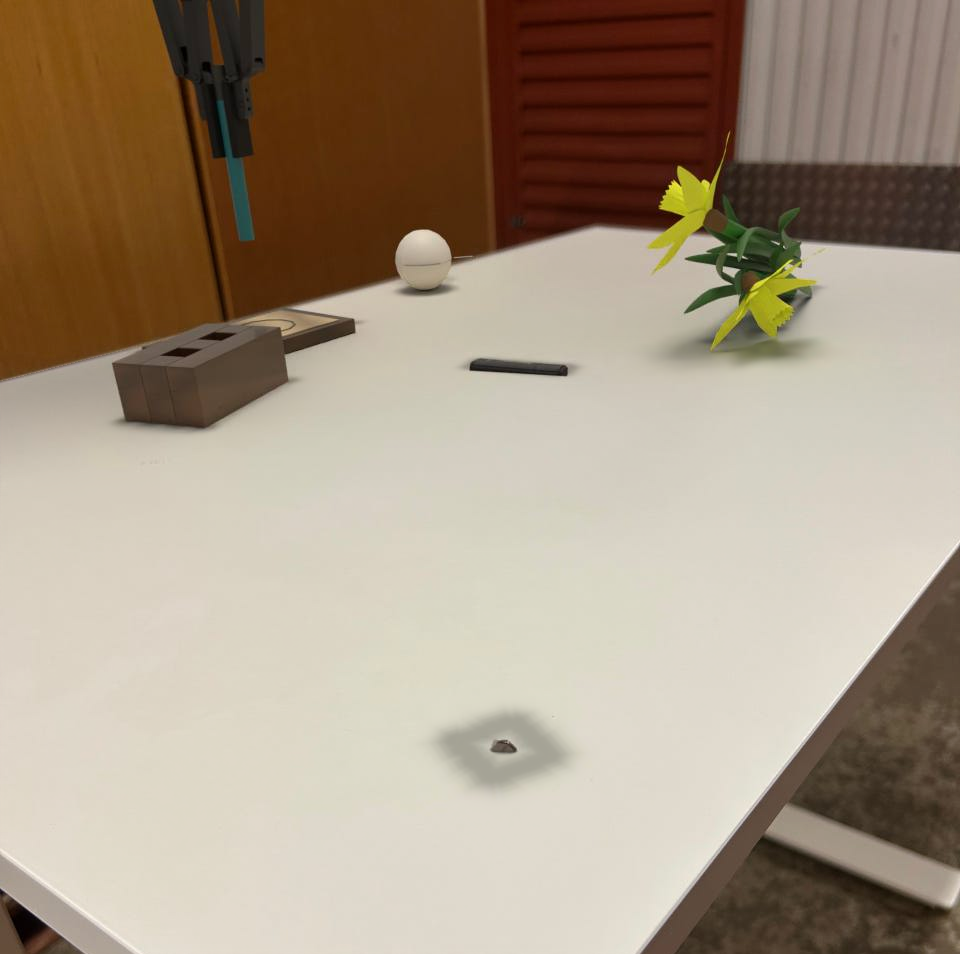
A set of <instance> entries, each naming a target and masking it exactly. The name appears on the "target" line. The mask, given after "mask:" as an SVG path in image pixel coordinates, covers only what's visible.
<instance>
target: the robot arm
mask: <svg viewBox="0 0 960 954" xmlns="http://www.w3.org/2000/svg"><path fill="white" fill-rule="evenodd" d="M179 1H180V2H179ZM208 2H209V4H210V8H211V12H212V17H213V21H214V26H215V30H216V35H217V39H218V44H219V48H220V53H221V57H222V63H223V65H224V67H225V71H226V76H222V77H223V79H224V81H225V82H228V83H224V84H221V89H222V95H223V101H224V107H225V114H226V120H227V126H228V132H229V138H230V144H231V150H232V157H233V158H242V159H243V158H245V157H246V158H247V157H250V156H254V155H255V153H254V147H253V141H252V134H251V127H250V122H249V119H253V118H254V106H253V99H252V93H251V84H250V83H251V79H252V78H253V77H254V76H256V75H258V74H260V73H263V72H265V70H266V38H265V37H266V33H265V31H266V29H265V26H266V25H265V0H238V6H237V2H236V0H152V5H153V8H154V10H155V14H156V17H157V21H158V24H159V27H160V30H161V34H162V37H163V40H164V44H165V47H166V50H167V54H168V57H169V60H170V65H171V67H172V71H173V74H174V76H176V77H177V78H183V79H186V80H188V81H190V82H191V83H192V84H193V86H194V91H195V96H196V102H197V107H198V115H199V117H200V119H201V121H202V122H203V121H204V122H206V124H207V131H208V138H209V143H210V149H211V154H212V159H213V160H214V159H224V158H226V157H225V151H224V145H223V139H222V133H221V127H220V121H219V115H218V109H217V103H216V100H215V94H214V88H213V82H212V76H211V70H210V65H214V57H213V55H214V54H213V48H212V46H213V45H212V37H211V29H210V28H211V27H210V18H209V17H210V16H209V9H208Z"/></svg>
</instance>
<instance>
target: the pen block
mask: <svg viewBox="0 0 960 954" xmlns="http://www.w3.org/2000/svg"><path fill="white" fill-rule="evenodd" d="M164 340H165V341H164ZM164 340H162V341H163V342H160V341H159V342H160V343H158V344H155V345H153V346H151V347H148V348H146V349H143V350H142V349H141V350H139V351H136V352H133V353H132V354H129V355H127V356H124V357H123V358H120V359H117V360H115V361H112V362H111V366H112V371H113V375H114V379H115V384H116V387H117V391H118V395H119V396H118V397H119V400H120V405H121V408H122V412H123V413H122V414H123V416H124V420H125V421H124V422H131V423H140V424H141V423H142V424H154V425H164V426H165V425H166V426H175V427H177V426H178V427H186V428H187V427H189V428H199V429H206V428H208V427H210V426H212V425H214V424H215V423H217V422H219V421H221V420H222V419H224V418H226V417H228V416H230V415H231V414H234V413H235V412H237V411H239V410H240V409H242V408H244V407H245V406H248V405H250V404H251V403H253V402H255V401H256V400H258V399H260V398H261V397H264V396H265V395H267V394H269V393H270V392H272V391H274V390H276V389H277V388H280V387H281V386H283V385H285V384H286V383H288V382H289V381H290V380H289V373H288V368H287V367H288V366H287V360H286V354H285V353H284V346H283V340H282V333H281V327H272V326H249V325H230V324H226V323H209V322H208V323H206V322H205V323H203V324H201V325H198V326H196V327H194V328H192V329H189V330H187V331H184V332H182V333H179V334H177V335H174V336H173V337H169V338H167V339H164Z"/></svg>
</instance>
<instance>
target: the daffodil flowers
mask: <svg viewBox="0 0 960 954" xmlns="http://www.w3.org/2000/svg"><path fill="white" fill-rule="evenodd" d="M730 133H731V131H729V132H728V134H727V137H726V143H725V146H727V144H728V140H729V137H730ZM726 151H727V148H725V149H724V153H723V157H722V159H721V162H720V165H719V166H718V168H717V170H716V173H715V175H714V176H713V179H712V181H711V183H710V182H709V181H707V179H703V180H701V181H700V180H699V179H698V178H697V177H696V176H695V175H694V174H692V173H691V172H690V171H689V170H687V169H685V168H684V167H683V166H681V165H677V169H676V170H677V171H676V172H677V178H678V181H679V183H680V184H679V183H678V182H676V181H675V180H674V179H673V180H672V181H670V183H671V184H669V185H668V188H669V189H666V190H664V191H665V194H664V195H662V200H661V201H659V203H660V204H659V205H658V209H659V210H663V211H667V212H670V213H674V214H677V215H680V216H682V218H681V219H680V220H678V221H677V222H676V223H674V224H673V225H672V226H671V227H669V228H667V230H665V231H664V232H663V233H662V234H660V235H659V236H658V237H656V238H655V239H654V240H653V241H651V242H650V244H648V245H647V246H646V248H645V249H647V250H661V249H664V248H667V247H669V246H670V247H669V249H668V250H667V252H666V253H665V254H664V256H663V257H662V258H661V259H660V261H659V262H658V264H657V265H656V267H655V268H654V269H653V271H652V273H651V274H650V276H652V275H653V274H655V273H657V272H658V271H659V270H661V269H662V268H664V267H665V266H667V265H668V264H669V262H671V260H672V259H673V258H674V257H675V256H676V255H677V254H678V251H680V249H681V248H682V246H683V245H684V243H685V242H686V240H687V239H688V238H689V237H690V236H691V235H692V234H694V233H695V232H696V231H698V230H699V229H700V228H701V227H703V229H705V230H706V231H707V232H708V233H709V234H710V235H711V236H712V237H714V238H715V239H716V240H718V241H719V242H720V243H722V245H720V246H716V247H713V248H712V247H711V248H710V249H707V250H706V251H705V252H706V253H702V254H701V253H700V254H693V255H689V256H687V257H684V260H685V261H689V262H693V263H699V264H703V265H712V266H715V270H716V272H717V274H718V276H719V277H720V278H721V280H723V281H724V282H727V283H728V284H727V285H726V284H725V285H721V286H715V287H712V288H709V289H708V290H706V291H704V292H703V293H701V294H700V295H699V296H697V298H695V299H694V300H693V301H692V302H691V303H690V304H689V305H688V306H687V307H686V309H685V310H684V311H683V314H684V315H686V314H688V313H691V312H693V311H695V310H698V309H699V308H701V307H704V306H706V305H708V304H710V303H712V302H715V301H717V300H720V299H723V298H728V297H732V296H738V297H739V298H738V306H737V307H736V309H735V310H734V311H733V312H732V313H731V314H730V315H729V316H728V318H727V319H726V320H725V321H724V322H722V325H721V326H720V327H719V328H718V330H717V332H716V334H715V337H714V340H713V342H712V345H711V347H710V349H709V351H710V352H711V351H712V350H713V349H715V348H716V346H718V344H719V343H720V342H721V341H723V340H724V338H725V337H726V336H727V335H728V334H729V333H730V332H731V331H732V330H733V329H734V328H735V326H736V325H738V323H739V322H740V321H741V320H742V319H744V317H745V316H746V314H747V313H748V311H750V313H751V314H752V316H753V318H754V320H755V322H756V323H757V326H758V327H759V328H760V329H761V330H762V331H764V333H765V334H766V335H768V336H769V337H770V338H772V339H776V338H777V335H778V327H779V328H782V324H783V325H786V322H787V321H789V320H790V319H791V318H790V316H794V314H793V313H795V310H794V309H795V307H793V306H791V305H789V304H788V303H786V302H785V301H783V300H782V299H781V298H779V295H781V296H783V297H787V298H793V297H795V295H796V294H797V293H798V290H799V291H800V292H801V293H803V294H805V295H807V296H809V297H813V291H812V288H811V286H813V285H816V284H817V283H819V281H818V280H814V279H807V278H799V277H798V278H797V277H796V275H794V274H792V272H793V271H794V270H795V269H797V268H799V269H802V268H803V263H804V262H805V261H807V259H809V258H810V257H812V256H815V255H817V254H820V253H821V252H822V251H824V250H825V249H826V247H823V248H821V249H820V250H818V251H816V252H815V253H813V254H811V255H809V256H808V257H805V258H803V259H802V258H801V257H802V250H801V249H802V248H801V245H802V242H803V241H802V240H800V241H798V240H796V239H794V238H792V237H790V236H788V235H787V234H786V230H785V228H786V227H787V225H789V223H790V222H791V221H793V219H794V218H795V217H796V216H797V214H799V212H800V210H801V209H802V208H801V207H795V208H792V209H790V210H787V211H785V212H783V213H782V214H781V215H780V216H779V218H778V222H777V223H778V225H777V226H778V227H777V228H778V233H777V232H775V231H772V230H769V229H766V228H763V227H760V226H753V227H749V228H747V227H745V226H743V225H742V224H740V222H739V221H738V218H737V216H736V213H735V212H734V210H733V207H732V206H731V204H730V202H729V200H728V198H727V196H726V195H725V194H724V193H723V194H722V203H723V208H724V213H722V212H720V210H719V209H716V208H713V203H714V196H715V192H716V185H717V181H718V178H719V174H720V171H721V168H722V165H723V161H724V158H725V154H726ZM723 244H724V245H723ZM732 254H736V256H735V255H732ZM787 265H790V266H791V265H792V266H791V267H789V268H787V269H786V266H787ZM724 268H730V269H735V270H738V271H736V273H735V274H734V276H732V275H729V274H728V273H726V272H724ZM786 320H787V321H786Z"/></svg>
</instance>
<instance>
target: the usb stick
mask: <svg viewBox="0 0 960 954" xmlns="http://www.w3.org/2000/svg"><path fill="white" fill-rule="evenodd" d="M469 371H470V372H481V373H482V372H483V373H499V374H500V373H501V374H518V375H535V376H536V375H537V376H553V377H567V376H568V375H569V367H568V366H567V365H566V364H557V363H556V364H555V363H543V362H529V361H520V360H519V361H517V360H508V359H507V360H505V359H495V358H494V359H493V358H483V357H479V358H475V360H472V361H470V364H469Z"/></svg>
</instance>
